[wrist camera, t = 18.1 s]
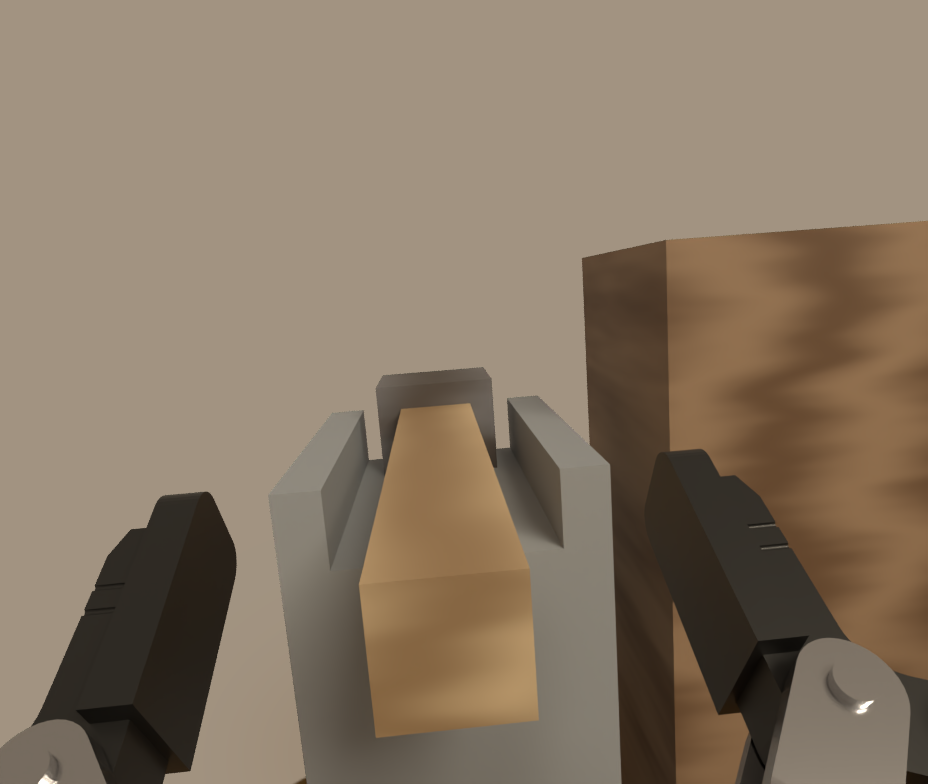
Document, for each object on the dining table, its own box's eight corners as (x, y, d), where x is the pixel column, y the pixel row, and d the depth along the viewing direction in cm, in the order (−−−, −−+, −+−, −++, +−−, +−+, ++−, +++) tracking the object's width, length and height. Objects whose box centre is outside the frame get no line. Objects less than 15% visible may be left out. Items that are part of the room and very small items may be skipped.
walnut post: (768, 758, 36) (773, 243, 31) (913, 956, 25) (957, 218, 20) (603, 777, 36) (582, 258, 31) (679, 987, 25) (666, 240, 20)
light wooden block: (488, 445, 31) (483, 367, 30) (592, 714, 11) (583, 508, 11) (390, 453, 31) (382, 375, 30) (320, 744, 11) (293, 535, 10)
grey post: (560, 811, 34) (537, 395, 30) (632, 1092, 22) (610, 464, 18) (379, 832, 33) (332, 412, 29) (353, 1131, 21) (268, 495, 17)
